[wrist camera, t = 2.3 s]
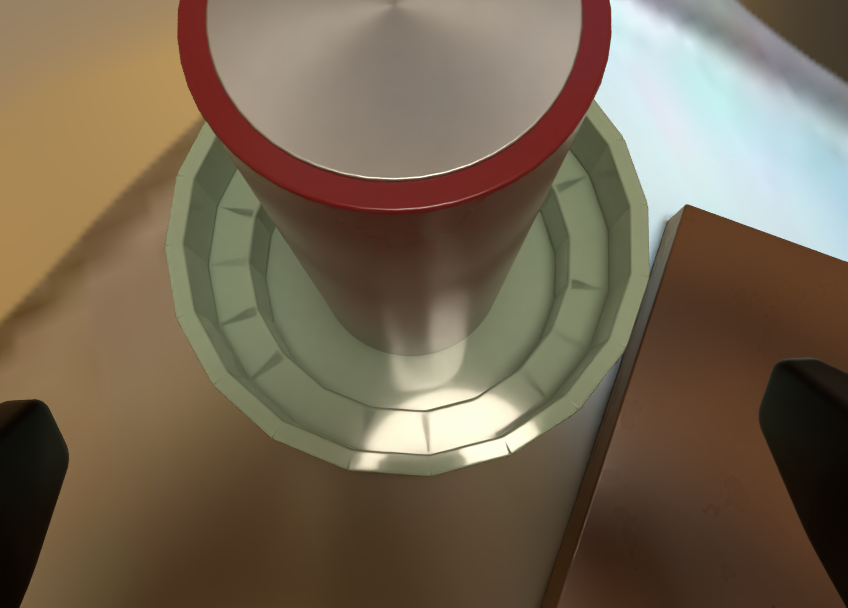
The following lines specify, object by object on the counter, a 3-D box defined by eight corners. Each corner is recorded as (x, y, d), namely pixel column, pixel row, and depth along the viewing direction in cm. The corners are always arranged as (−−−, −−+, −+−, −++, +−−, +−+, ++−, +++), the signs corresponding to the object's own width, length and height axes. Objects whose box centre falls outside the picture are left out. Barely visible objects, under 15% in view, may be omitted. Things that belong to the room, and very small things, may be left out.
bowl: (526, 532, 19) (557, 558, 14) (154, 377, 20) (78, 357, 15) (648, 175, 21) (706, 105, 17) (316, 56, 22) (290, -40, 18)
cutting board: (887, 1118, 15) (935, 1188, 14) (442, 905, 16) (444, 950, 15) (1023, 349, 20) (1071, 341, 18) (667, 219, 21) (686, 202, 19)
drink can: (462, 384, 19) (527, 281, 7) (292, 316, 19) (93, 115, 8) (525, 221, 20) (668, -95, 8) (363, 160, 21) (286, -217, 9)
